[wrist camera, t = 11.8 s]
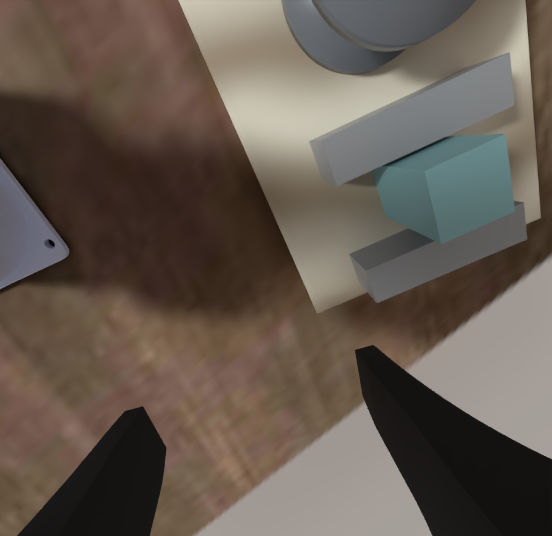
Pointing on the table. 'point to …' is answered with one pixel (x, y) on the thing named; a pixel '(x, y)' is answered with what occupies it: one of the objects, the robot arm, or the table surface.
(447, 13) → the bobbin
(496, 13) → the board
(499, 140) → the peg
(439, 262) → the gray parallel rails
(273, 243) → the table surface
